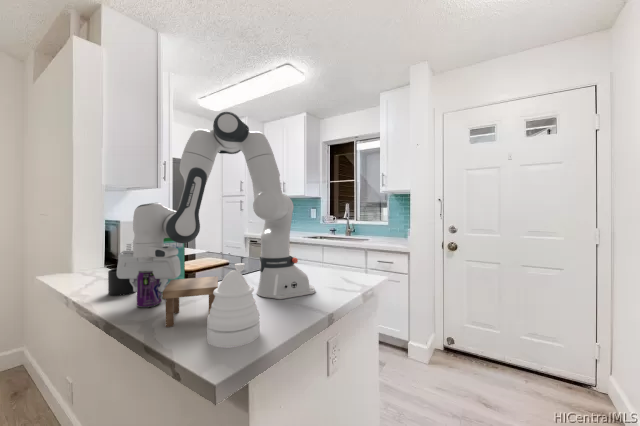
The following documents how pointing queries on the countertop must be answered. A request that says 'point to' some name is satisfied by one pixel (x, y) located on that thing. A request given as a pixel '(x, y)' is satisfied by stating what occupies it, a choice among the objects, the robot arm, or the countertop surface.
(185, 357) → the countertop surface
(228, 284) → the honey pot
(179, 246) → the milk carton
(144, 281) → the beverage can
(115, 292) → the mug
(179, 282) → the walnut stool
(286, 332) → the countertop surface
